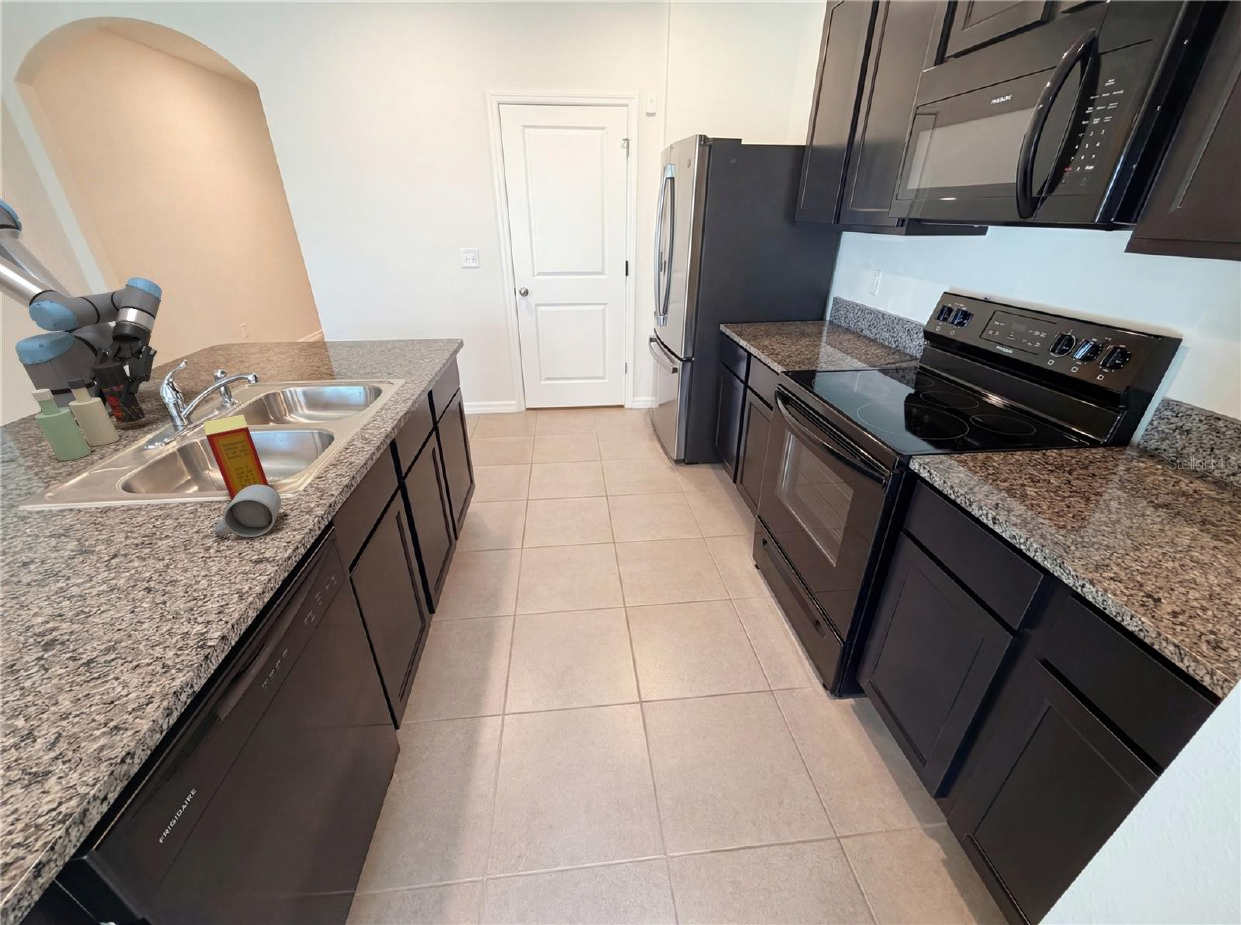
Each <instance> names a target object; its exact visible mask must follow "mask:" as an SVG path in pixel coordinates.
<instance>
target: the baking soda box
mask: <svg viewBox="0 0 1241 925" xmlns="http://www.w3.org/2000/svg"><path fill="white" fill-rule="evenodd" d="M203 426H204V432H205V437H206V440H207V442H208V445H209V447H210V450H211V452H212V454H213V458H214V460H215V462H216V464H217V467H218V470H219V472H220V475H221V477H222V479H223V482H224V485H225V487H226V489H227V492H228V494H229V497H230V499H231V501H232V500H233V499H234V498H235V496H236V495H237V494H238V493H239V492H240V491H241V490H243V489H244V488H246V487H248V486H251V485H266V486H269V487H270V484H269V482H268V479H267V476H266V474H265V471H264V468H263V465H262V462H261V460H260V457H259V453H258V452H257V448H256V446H255V443H254V440H253V437H252V435H251V431H250V429H249V426H248V423H247V421H246V418H245V415H244V413H240V414H236V415H235V414H234V415H231V416H230V415H229V416H225V417H220V418H215V419H210V420H204V421H203Z"/></svg>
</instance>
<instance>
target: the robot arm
mask: <svg viewBox="0 0 1241 925" xmlns="http://www.w3.org/2000/svg"><path fill="white" fill-rule="evenodd" d="M19 219H20V217H19V216H18V214H17V212H16V211H15V210H14V209H13V208H12V207H11V206H10V205H9V204H8V203H7V202H5V201H4V200H3V199H1V198H0V293H2V294H4V295H5V296H7V297H8V298H10V299H11V300H13V301H15V302H16V303H18V304H20V305H21V306H23V307H25V308H26V309H28V314H29V317H30V319H31V320H32V322H35V323H36V324H35V325H37V327H39V328H40V329H42V330H44V331H46V332H47V331H48V332H47V333H40V334H36V335H33V336H29V337H26V338H24V339H21V340H19V341H18V342H16V344H15V346H14V349H15V352H16V354H17V357H18V361H19V363H21V365H22V366H23V368H24V370H25V372H26V374H27V376H28V377H29V379H30V381H31V382H32V386H34V388H35V390H40V389H50V391H51V393H52V395H53V397H54V398H53V399H54V401H55V403H56V405H57V407H58V409H69V410H70V412H71V414H72V416H73V418H74V420H75V422H76V424H77V425H79V423H78V422H77V420H76V418H75V416H74V414H73V412H72V410H71V408H70V406H69V403H70V402H73V401H76V398H75V396H74V394H73V392H72V390H71V389H69V387H68V385H67V383H66V381H67V380H70V379H75V378H82V379H83V380H84V382H85V384H86V389H87V391H88V393H89V395H90V397H91V398H95V397H96V398H101V400H102V402H103V405H104V407H105V409H106V411H107V413H108V415H109V417H110V416H114V414H113V412H112V410H111V408H110V406H109V404H108V402H107V400H106V397H105V395H104V393H103V391H102V389H101V387H100V385H99V383H98V381H97V379H96V376H95V374H94V372H93V370H92V368H91V367H92V366H95V365H99V364H104V363H113V362H120V363H122V364H123V367H124V368H125V367H126V366H127V367H128V374H127V376H128V377H127V378H128V379H129V380H126V381H125V385H124V388H123V392H122V396H121V399H120V403H122V404H124V405H126V406H128V407H132V403H133V400H134V396H135V394H136V395H137V394H138V393H139V389H140V386H141V384H142V383H144V382H146V383H148V382H149V381H150V380H151V375H152V371H153V365H154V360H155V357H156V355H157V354H158V351H157V349H155V348H153V347H152V346H150V343H151V342H150V341H151V339H152V333H153V329H154V325H155V321H156V319H157V315H158V312H159V308H160V305H161V302H162V294H163V289H162V288H161V287H160V286H159V284H158V283H155V282H153V281H152V280H150V279H148V278H144V277H138V276H134V277H130V278H128V280H127V281H126V283H125V287H124V288H121V289H118V290H114V291H109V292H104V293H97V294H96V293H95V294H89V295H83V296H75V295H74V294H73V293H72V292H71V291H70V289H69V288H67V287H66V286H65V285H64V284H63V282H61V280H59V279H58V278H57V276H56V275H55V274H54V273H53V272H52V271H51V270H50V269H49V268H48V267H47V266H46V265H45V264H44V263H43V261H41V259H39V258H38V257H37V256H36V255H35V254H34V252H32V251H31V249H30V248H29V247H27V246H26V244H25V243H24V242H23V239H24V234H23V232H22V230H23V226H22V222H21V221H19ZM113 322H114V324H115V325H111V324H110V323H113ZM40 413H43V411H42V410H41V409H40Z"/></svg>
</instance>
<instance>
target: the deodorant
mask: <svg viewBox="0 0 1241 925" xmlns="http://www.w3.org/2000/svg"><path fill="white" fill-rule="evenodd" d="M91 368H92V370H93V372H94V374H95V376H96V379H97V381H98V383H99V385H100V387H101V389H102V391H103V393H104V395H105V397H106V400H107V402H108V404H109V406H110V408H111V410H112V412H113V416H114V418H115V420H116V423H119V424H126V423H133V422H137V421H141V420H143V419H145V418H146V414H145V411H144V409H143V406H142V405H141V403H140V400H139V398H138V396H137V394H135V396H134V400H133V403H132V407H128V406H126V405H124V404H122V403H120V399H121V396H122V392H123V388H124V385H125V381H126V380H130V379H128V378H127V377H128V376H129V375H128V373H127V371H126V369H125V366H124V367H123V364H122V363H120V362H113V363H104V364H99V365H95V366H92V367H91ZM127 375H128V376H127Z"/></svg>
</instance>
